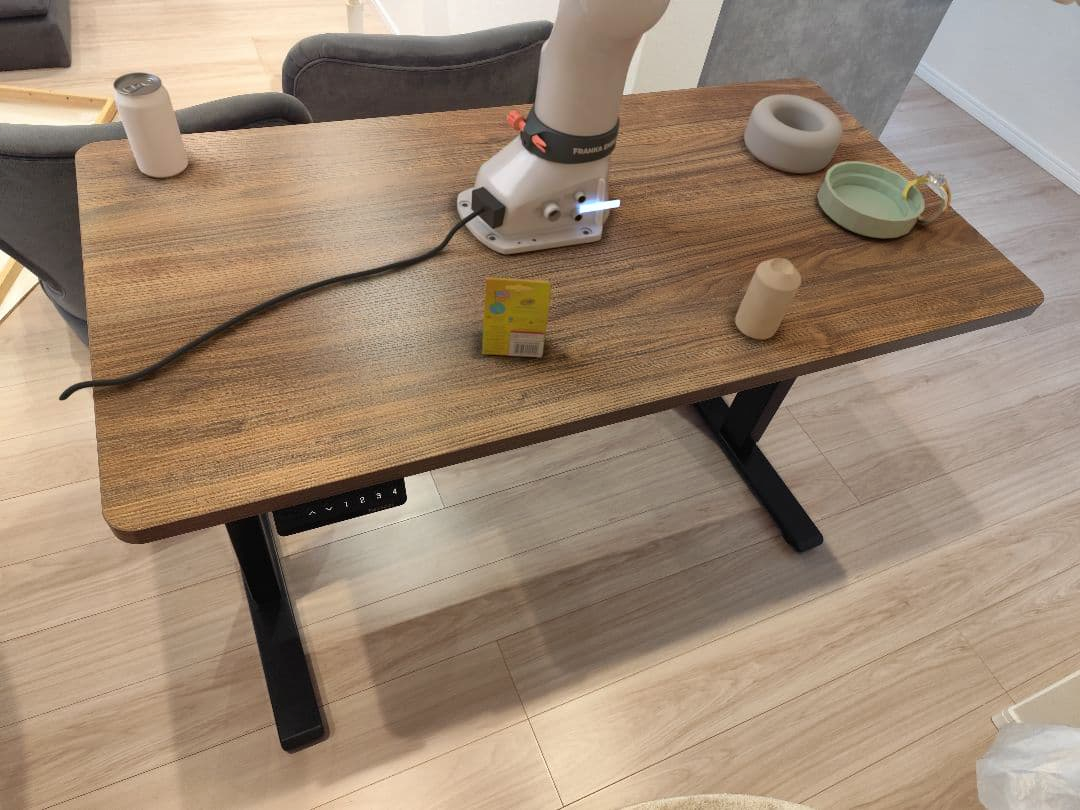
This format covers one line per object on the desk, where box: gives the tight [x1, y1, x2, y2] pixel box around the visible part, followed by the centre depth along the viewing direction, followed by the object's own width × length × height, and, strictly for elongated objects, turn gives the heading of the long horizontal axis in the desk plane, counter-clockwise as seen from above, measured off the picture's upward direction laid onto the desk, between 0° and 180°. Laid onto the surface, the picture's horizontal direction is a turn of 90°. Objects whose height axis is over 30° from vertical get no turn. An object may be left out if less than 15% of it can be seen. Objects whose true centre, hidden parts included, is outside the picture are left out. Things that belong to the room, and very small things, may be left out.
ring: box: [903, 170, 952, 224], centre depth 112 cm, size 7×3×8 cm, turn 29°
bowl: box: [816, 160, 926, 239], centre depth 114 cm, size 15×15×4 cm
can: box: [112, 71, 189, 179], centre depth 98 cm, size 6×6×12 cm
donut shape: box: [743, 93, 844, 174], centre depth 121 cm, size 15×15×7 cm
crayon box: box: [481, 276, 553, 359], centre depth 84 cm, size 7×3×12 cm, turn 91°
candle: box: [734, 257, 802, 340], centre depth 92 cm, size 6×6×10 cm
